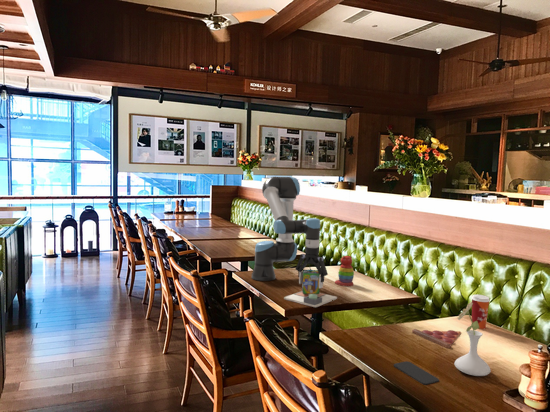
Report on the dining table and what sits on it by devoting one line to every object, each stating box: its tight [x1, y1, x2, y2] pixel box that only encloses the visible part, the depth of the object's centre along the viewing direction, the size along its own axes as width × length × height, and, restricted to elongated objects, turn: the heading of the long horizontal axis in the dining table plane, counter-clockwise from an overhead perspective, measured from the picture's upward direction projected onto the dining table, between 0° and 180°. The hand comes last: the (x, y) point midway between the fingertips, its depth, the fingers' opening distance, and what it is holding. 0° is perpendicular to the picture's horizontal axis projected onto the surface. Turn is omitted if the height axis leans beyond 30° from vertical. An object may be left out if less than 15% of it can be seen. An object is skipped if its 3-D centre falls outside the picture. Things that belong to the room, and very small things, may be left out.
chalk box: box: [301, 264, 320, 294], centre depth 229 cm, size 9×9×15 cm
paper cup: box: [470, 294, 491, 330], centre depth 189 cm, size 8×8×14 cm
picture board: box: [283, 290, 338, 308], centre depth 224 cm, size 20×21×4 cm
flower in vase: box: [454, 301, 492, 377], centre depth 144 cm, size 13×11×25 cm
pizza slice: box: [411, 328, 462, 349], centre depth 177 cm, size 18×2×20 cm
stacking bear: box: [334, 255, 355, 287], centre depth 257 cm, size 11×10×18 cm
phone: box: [393, 360, 440, 386], centre depth 142 cm, size 7×1×15 cm
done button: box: [309, 294, 317, 300], centre depth 215 cm, size 4×4×2 cm
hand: (310, 285), depth 229 cm, fingers closed on chalk box, 12 cm apart
